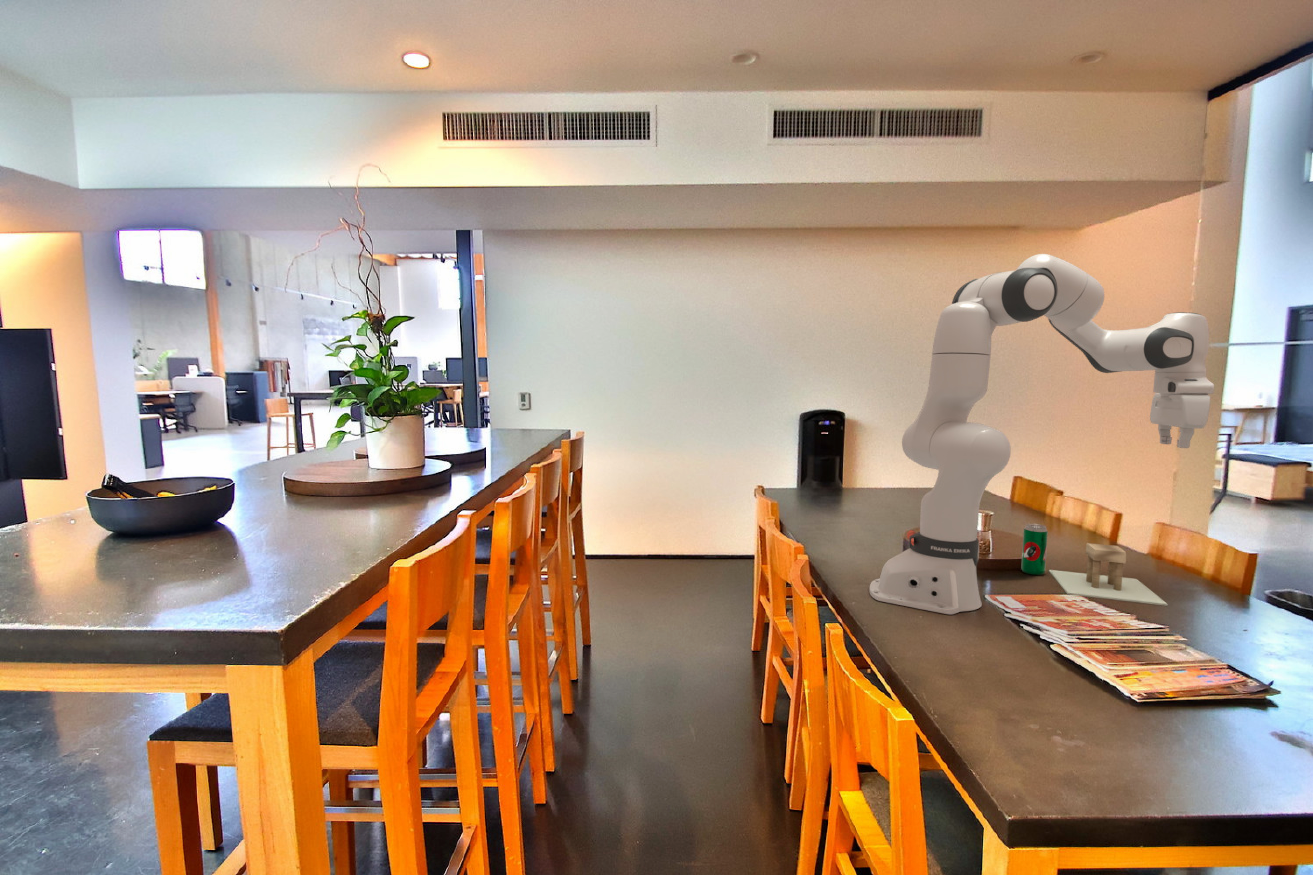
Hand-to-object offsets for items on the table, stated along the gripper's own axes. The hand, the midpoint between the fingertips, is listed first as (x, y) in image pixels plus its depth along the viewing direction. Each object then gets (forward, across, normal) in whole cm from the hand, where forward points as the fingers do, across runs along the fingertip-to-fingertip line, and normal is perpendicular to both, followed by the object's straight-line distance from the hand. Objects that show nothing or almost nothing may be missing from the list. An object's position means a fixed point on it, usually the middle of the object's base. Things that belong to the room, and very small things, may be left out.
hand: (1173, 446), depth 136 cm
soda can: (+33, 0, -26) cm, 42 cm away
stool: (+33, +6, -13) cm, 36 cm away
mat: (+33, +6, -13) cm, 36 cm away
